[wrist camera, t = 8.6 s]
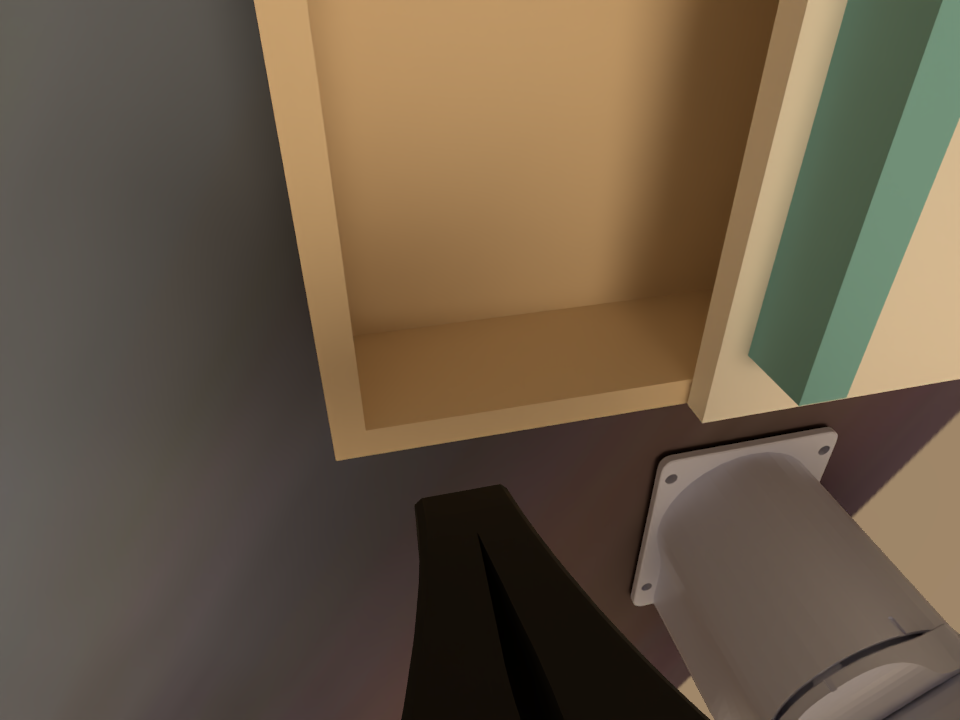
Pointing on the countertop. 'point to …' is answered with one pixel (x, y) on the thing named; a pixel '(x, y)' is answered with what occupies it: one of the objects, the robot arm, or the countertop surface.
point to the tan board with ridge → (842, 214)
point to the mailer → (508, 201)
